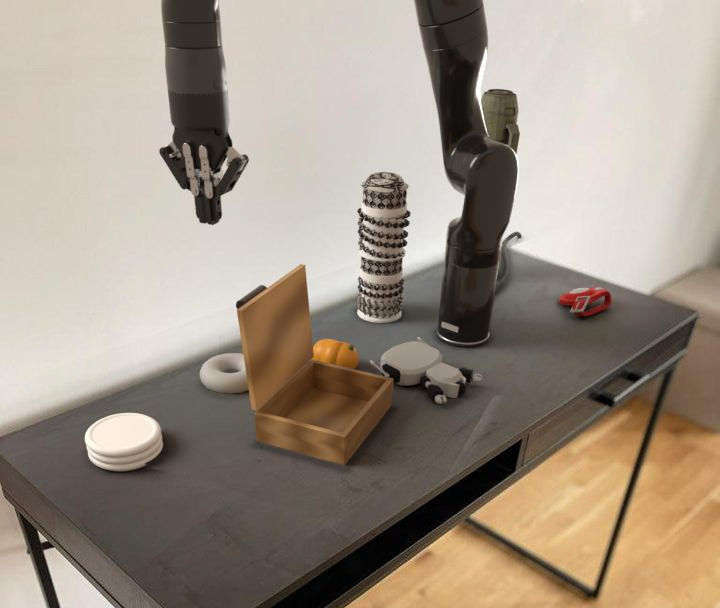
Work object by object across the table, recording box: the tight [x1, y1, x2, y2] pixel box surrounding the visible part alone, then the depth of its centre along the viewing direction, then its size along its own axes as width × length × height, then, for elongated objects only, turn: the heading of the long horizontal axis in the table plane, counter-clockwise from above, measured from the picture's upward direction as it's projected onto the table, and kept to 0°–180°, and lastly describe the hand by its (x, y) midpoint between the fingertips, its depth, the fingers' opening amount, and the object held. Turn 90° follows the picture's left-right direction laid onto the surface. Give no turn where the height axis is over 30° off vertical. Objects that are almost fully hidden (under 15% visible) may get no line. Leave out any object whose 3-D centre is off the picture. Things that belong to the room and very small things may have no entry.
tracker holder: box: [558, 286, 612, 317], centre depth 147 cm, size 12×4×10 cm
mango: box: [311, 338, 360, 370], centre depth 123 cm, size 8×5×5 cm, turn 66°
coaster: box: [84, 412, 164, 472], centre depth 103 cm, size 10×10×4 cm
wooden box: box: [254, 359, 394, 466], centre depth 110 cm, size 14×18×5 cm
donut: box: [199, 352, 249, 395], centre depth 120 cm, size 10×4×10 cm
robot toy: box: [369, 336, 483, 405], centre depth 121 cm, size 12×4×15 cm
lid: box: [235, 263, 314, 412], centre depth 106 cm, size 14×18×5 cm
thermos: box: [480, 88, 521, 276], centre depth 150 cm, size 9×12×35 cm
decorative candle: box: [356, 171, 412, 324], centre depth 136 cm, size 9×9×25 cm
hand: (209, 222), depth 107 cm, fingers closed
